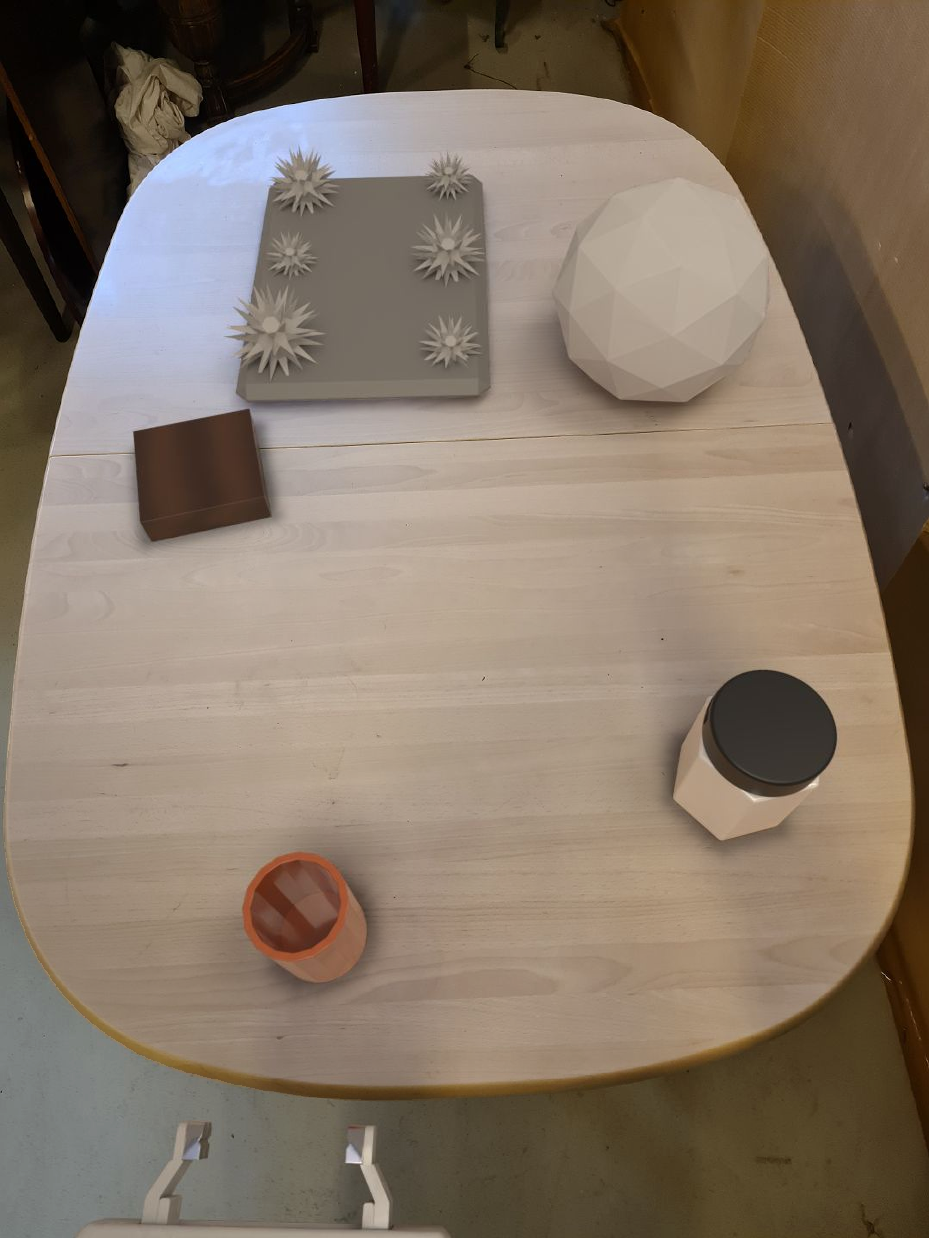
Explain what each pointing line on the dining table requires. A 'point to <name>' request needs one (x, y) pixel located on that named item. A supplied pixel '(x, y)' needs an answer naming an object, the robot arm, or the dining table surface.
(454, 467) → the dining table surface
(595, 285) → the sphere
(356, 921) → the pot
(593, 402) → the dining table surface
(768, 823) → the jar
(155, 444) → the stand
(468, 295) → the decorative tray
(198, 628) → the dining table surface
